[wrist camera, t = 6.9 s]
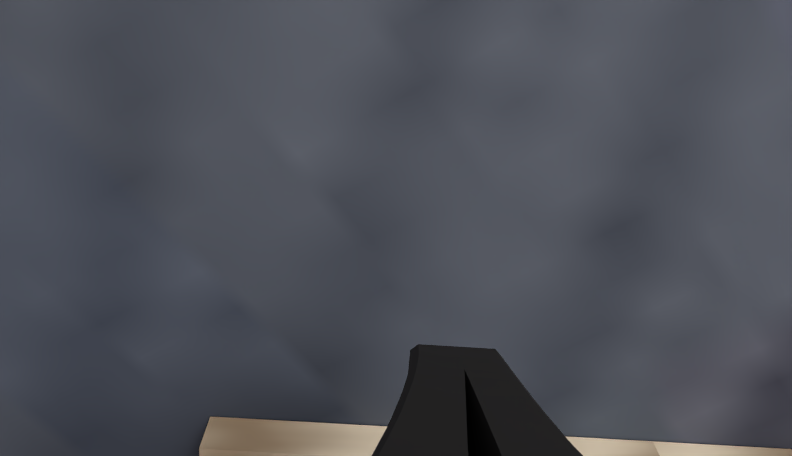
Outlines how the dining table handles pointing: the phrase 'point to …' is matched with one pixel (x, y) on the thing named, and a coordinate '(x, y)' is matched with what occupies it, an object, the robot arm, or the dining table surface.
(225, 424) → the birch deck
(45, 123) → the dining table surface
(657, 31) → the dining table surface
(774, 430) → the dining table surface
